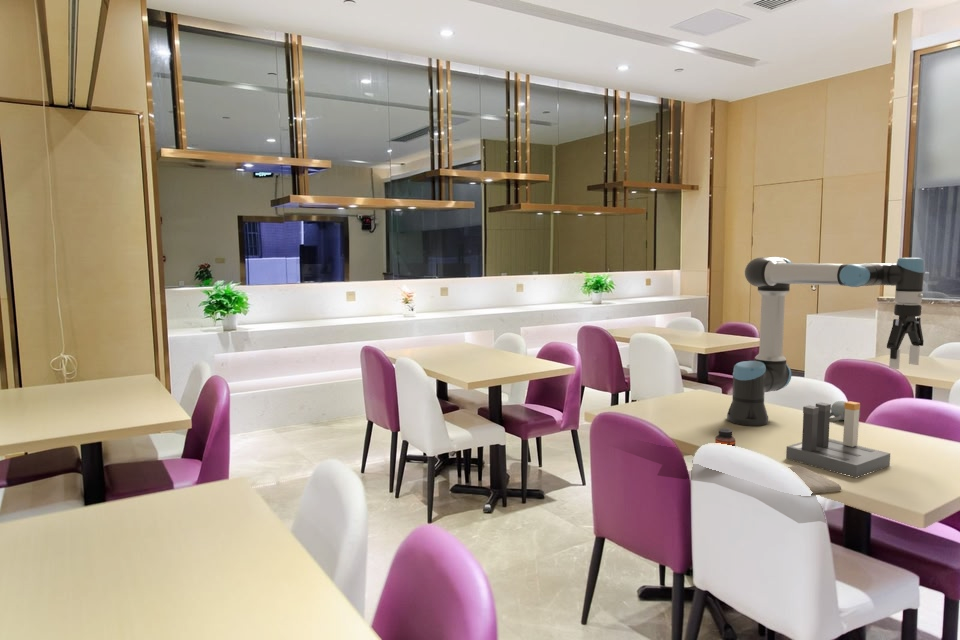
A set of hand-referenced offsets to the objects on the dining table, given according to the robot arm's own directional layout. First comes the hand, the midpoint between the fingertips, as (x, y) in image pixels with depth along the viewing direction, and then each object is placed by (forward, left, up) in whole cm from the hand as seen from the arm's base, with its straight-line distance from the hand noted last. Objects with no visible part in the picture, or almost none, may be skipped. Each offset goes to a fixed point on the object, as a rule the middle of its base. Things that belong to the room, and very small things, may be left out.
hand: (904, 366), depth 214 cm
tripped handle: (-3, -26, -24) cm, 35 cm away
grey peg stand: (-3, -33, -28) cm, 44 cm away
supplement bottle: (-21, -65, -28) cm, 74 cm away
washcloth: (+1, -59, -29) cm, 66 cm away
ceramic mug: (-29, +19, -28) cm, 45 cm away
